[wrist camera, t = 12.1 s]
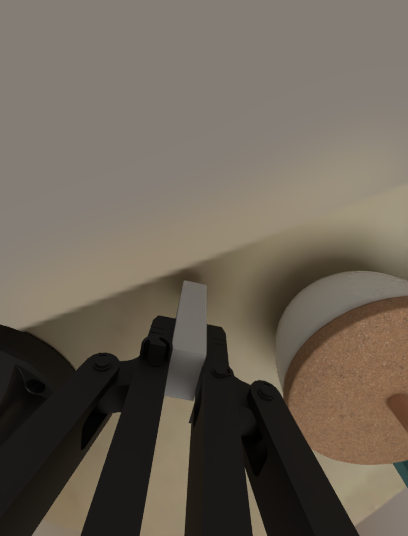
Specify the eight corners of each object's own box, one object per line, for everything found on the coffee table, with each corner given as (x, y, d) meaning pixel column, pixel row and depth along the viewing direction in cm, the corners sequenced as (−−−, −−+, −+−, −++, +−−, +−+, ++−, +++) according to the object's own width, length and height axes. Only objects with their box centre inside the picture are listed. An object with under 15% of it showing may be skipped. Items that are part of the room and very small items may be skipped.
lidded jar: (249, 264, 19) (286, 357, 10) (407, 232, 18) (592, 305, 9) (268, 377, 23) (306, 511, 15) (398, 356, 22) (521, 485, 14)
